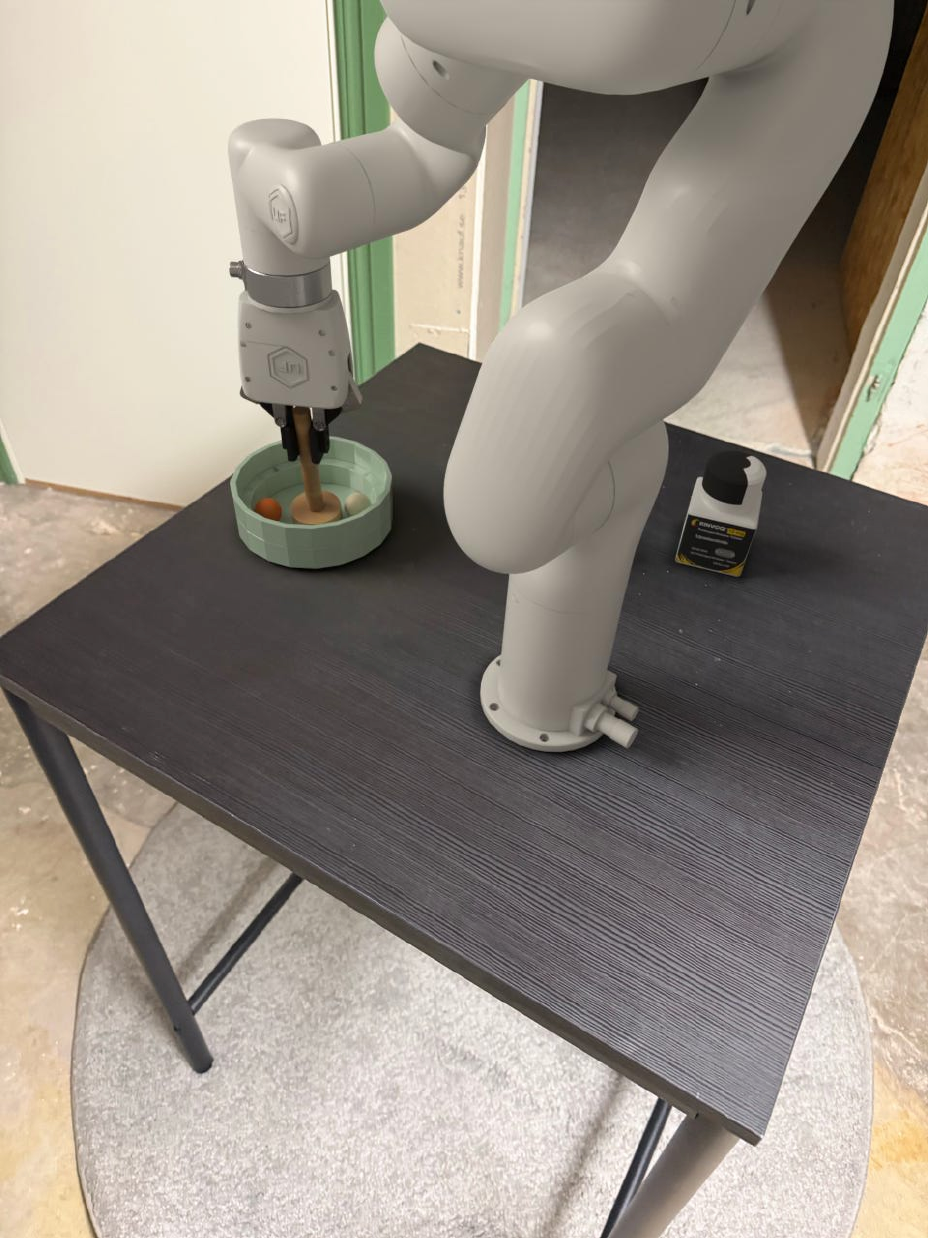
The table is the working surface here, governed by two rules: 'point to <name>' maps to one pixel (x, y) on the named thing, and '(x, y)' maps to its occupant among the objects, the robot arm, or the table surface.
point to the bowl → (283, 481)
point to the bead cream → (356, 503)
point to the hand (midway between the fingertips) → (307, 454)
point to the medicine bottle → (723, 513)
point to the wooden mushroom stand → (311, 481)
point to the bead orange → (269, 509)
